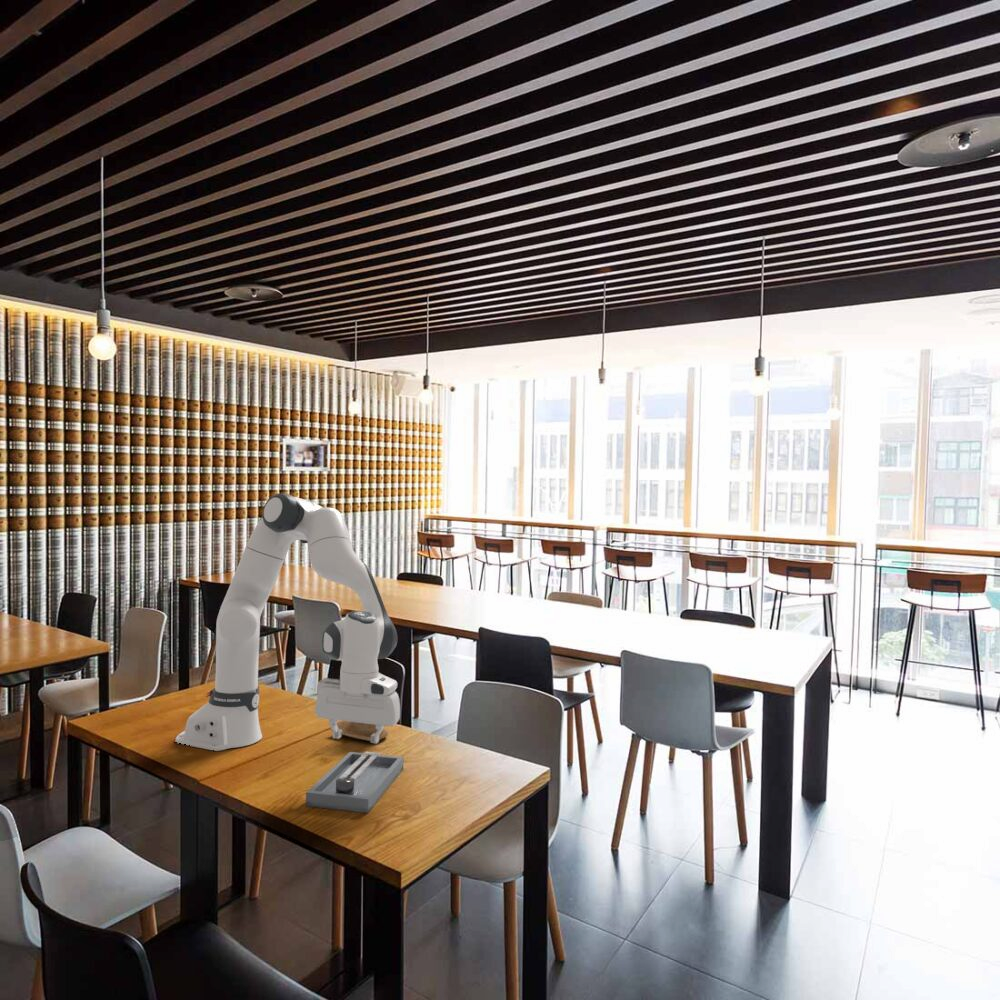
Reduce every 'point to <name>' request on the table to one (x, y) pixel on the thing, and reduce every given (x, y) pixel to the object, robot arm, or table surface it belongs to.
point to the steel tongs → (358, 773)
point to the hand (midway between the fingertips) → (355, 740)
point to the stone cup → (360, 730)
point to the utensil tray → (367, 794)
